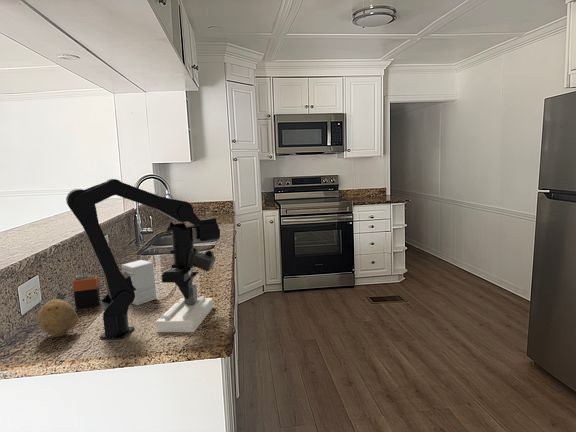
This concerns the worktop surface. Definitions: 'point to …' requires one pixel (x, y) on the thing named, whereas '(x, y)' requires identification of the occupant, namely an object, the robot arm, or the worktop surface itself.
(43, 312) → the tan rounded lump
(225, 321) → the worktop surface
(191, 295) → the switch knob
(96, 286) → the battery
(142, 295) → the supplement box
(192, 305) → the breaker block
